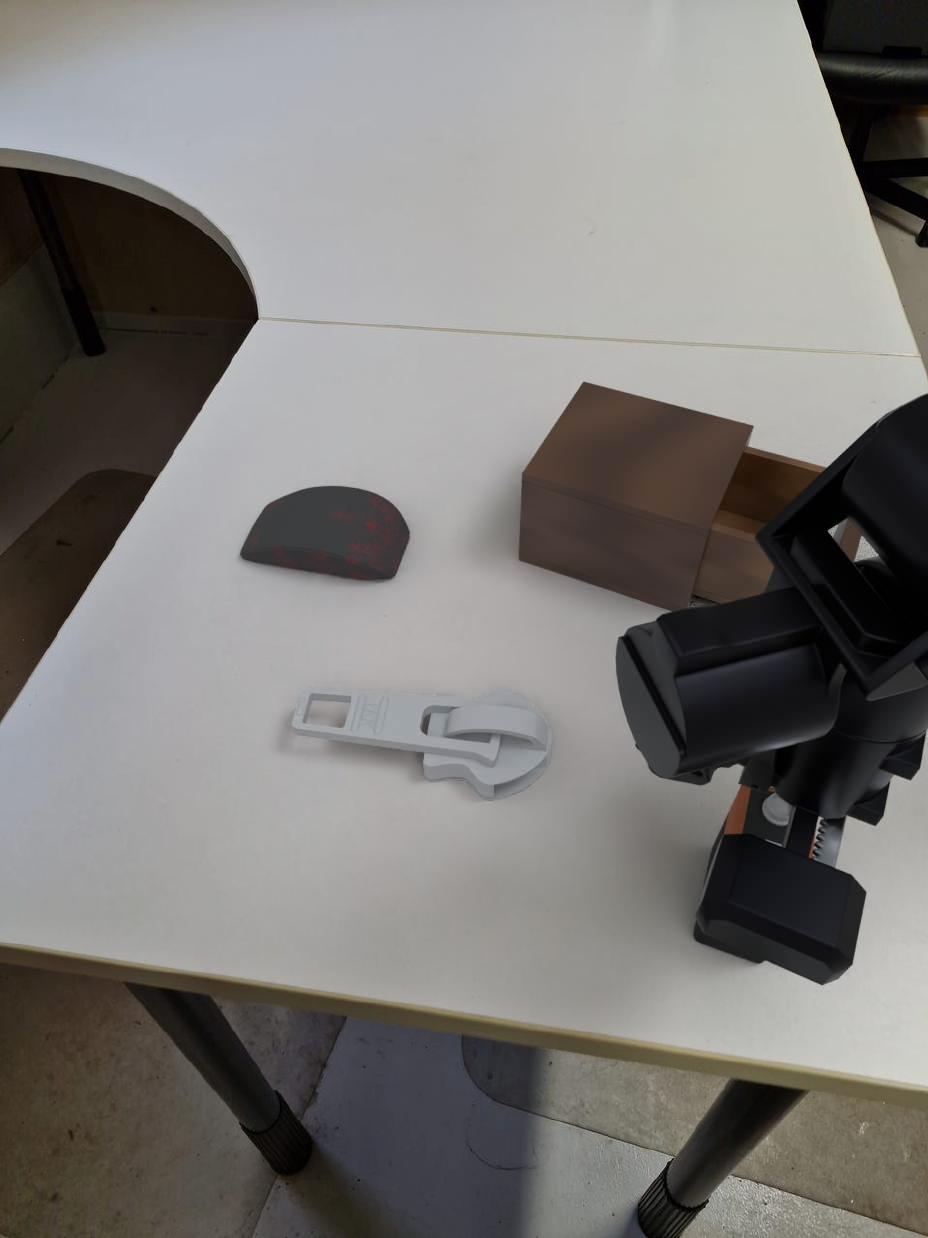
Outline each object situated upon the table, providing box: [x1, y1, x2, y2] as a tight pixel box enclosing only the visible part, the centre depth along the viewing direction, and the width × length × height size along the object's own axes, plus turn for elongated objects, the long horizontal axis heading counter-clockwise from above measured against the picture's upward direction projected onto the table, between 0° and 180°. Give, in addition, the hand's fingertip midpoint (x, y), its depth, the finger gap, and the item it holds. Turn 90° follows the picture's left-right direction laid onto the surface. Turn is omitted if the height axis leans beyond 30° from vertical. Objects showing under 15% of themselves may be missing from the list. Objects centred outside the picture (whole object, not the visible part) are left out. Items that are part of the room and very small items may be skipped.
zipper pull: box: [291, 686, 554, 801], centre depth 60 cm, size 8×18×4 cm, turn 83°
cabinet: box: [518, 381, 755, 612], centre depth 71 cm, size 15×13×10 cm
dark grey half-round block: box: [239, 485, 411, 580], centre depth 73 cm, size 8×14×4 cm, turn 77°
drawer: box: [692, 445, 863, 604], centre depth 67 cm, size 18×12×8 cm, turn 64°
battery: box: [692, 784, 818, 965], centre depth 50 cm, size 4×7×10 cm, turn 159°
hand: (769, 847), depth 47 cm, fingers open, 9 cm apart
